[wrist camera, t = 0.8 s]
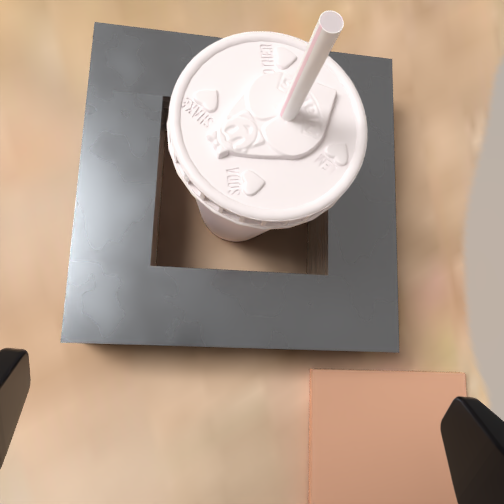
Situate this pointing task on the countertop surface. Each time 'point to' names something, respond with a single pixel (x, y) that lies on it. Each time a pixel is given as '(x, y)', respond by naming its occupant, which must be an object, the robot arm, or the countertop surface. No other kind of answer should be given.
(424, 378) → the tile
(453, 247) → the countertop surface
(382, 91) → the socket block
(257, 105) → the smoothie
